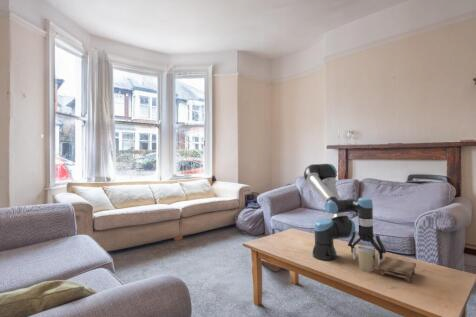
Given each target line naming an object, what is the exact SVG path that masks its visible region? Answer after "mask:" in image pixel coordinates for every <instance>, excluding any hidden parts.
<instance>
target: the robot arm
mask: <svg viewBox="0 0 476 317" xmlns="http://www.w3.org/2000/svg"><path fill="white" fill-rule="evenodd" d="M337 173H338V171H337V168H336V167H335V166H334V165H333V164H331V163H318V164H316V163H315V164H310V165H308V166H307V167H306V168H305V169H304V171H303V178H304V179H305V182H306V183H307V184H308V185H310V186H311V187H312V188H313V190H314V191H315V192H316V193H317V195H318V196H319V197H320V198H321V199H322V201H323V202H324V209H325V212H326V213H327V214H330V215H331V218H321V219H318V220H316V221H315V222H314V225H313V226H314V227H313V228H314V246H313V249H312V257H314V258H315V259H317V260H321V261H333V260H336V259H337V257H338V256H337V255H338V254H337V250H336V248H335V245H334V240H341V239H349V238H350V239H349V242H348V244H347V246H348V247H350V250H351V253H352V259H353V260H356V259H357V247H356V245H357V244H358V243H359V242H361V241H362V242H367V243H370V244H371V245H372V247H373V248H374V249H375V251H377V252H378V253H377V265H378V266H379V264H380V263H381V262H382V260H383V259H384V257H383V256H384V254H386V252H387V249H386V247H385V246H384V244H383V242H382V240H381V238H380V235H379V234H377V235H376V234H374V226H373V225H374V213H373V212H374V210H373V208H374V205H373V199H372V198H371V197H370V198H369V197H359V198H358V199H356V198H353V197H347V198H346V199H340V195H339V192H338V189H337V186H336V184H335V181H336V178H337V176H338V175H337ZM352 212H355V213H357V215H358V231H357V230H356V224H355V221H353V220H352V219H351V218H349V216H348V215H347V214H345V213H352ZM357 235H358V237H359V238H358V239H356V237H357ZM355 239H356V241H355V242H354V240H355ZM353 242H354V243H353Z"/></svg>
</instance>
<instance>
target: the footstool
mask: <svg viewBox="0 0 476 317" xmlns="http://www.w3.org/2000/svg"><path fill="white" fill-rule="evenodd" d="M416 266H417V262H413V261H408V260H403V259H398V258H393V257H389V256H385V257H383V258H382V260H381V263H380V264H379V265H378V269H379V273H380V274H379V275H380V276H381V277H383V276H384V275H385V274H387V275H391V276H395V277H399V278H403V279H406V283H408V284H409V283H411V277H412V275H414V274H415V271H416V268H417V267H416Z"/></svg>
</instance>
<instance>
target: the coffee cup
mask: <svg viewBox="0 0 476 317" xmlns="http://www.w3.org/2000/svg"><path fill="white" fill-rule="evenodd" d="M357 256H358V266H359V270H361V271H363V272H374V271H375V264H376V248H375V247H374V246H369V245H359V246H357Z"/></svg>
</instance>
